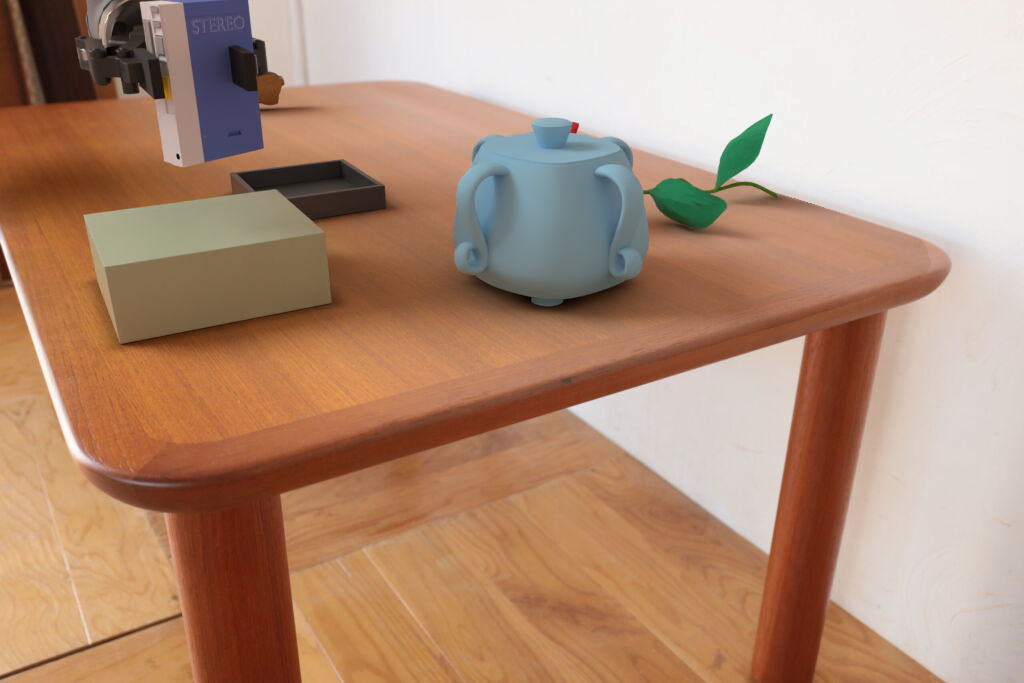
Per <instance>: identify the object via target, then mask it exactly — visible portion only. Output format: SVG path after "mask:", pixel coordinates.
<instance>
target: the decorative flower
mask: <svg viewBox="0 0 1024 683" xmlns="http://www.w3.org/2000/svg"><path fill="white" fill-rule="evenodd" d="M773 116H774V113H769V114H768V115H766V116H765V117H763V118H761V119H759V120H757V121H755V122H754V123H753V124H751V125H750V126H748V127H747V128H746V129H744V130H743V131H742V132H741V133H740V134H738V135H737V136H736V137H734V138H732V139H731V140H729V141H728V143H727V144H726V146H725V147H724V149H723V151H722V153H721V155H720V157H719V162H718V168H717V174H716V180H715V185H714V188H712V189H705V190H704V189H701V188H699V187H697V186H694V185H693V184H692V183H690V181H687V180H686V179H685V178H683V177H677V178H673V177H669V178H665V179H663V180H661V181H660V182H659V183H657V184H656V185H655V186H654V187H652V188H649V189H645V190H643V194H644V195H650V197H651V198H652V200H653V202H654V204H655V207H656V209H658V211H659V212H660V213H661V214H663V215H664V216H665V217H666V218H668V219H670V220H671V221H674V222H675V223H677V224H680V225H683V226H687V227H689V228H693V229H695V230H703V229H706V228H708V227H709V226H711V225H712V224H714V223H715V222H716V221H717V220H718V218H720V216H722V214H723V213H724V212H725V211H726V210H727V209H728V202H726V200H725V199H723V198H722V197H719V196H717V195H714V194H715V193H716V194H717V193H719V192H722V191H725V190H728V189H731V188H732V189H733V188H737V187H741V186H742V187H743V186H744V187H753V188H755V189H758V190H761V191H762V192H764V193H766V194H768V195H769V196H772V197H774V198H778V197H779V196H778V194H777V193H776V192H774V191H772V190H770V189H768V188H767V187H765V186H763V185H760V184H759V183H756V182H753V181H736V182H733V183H730V184H726V183H727V182H728V181H729V180H730V179H732V178H733V177H735V176H737V175H738V174H740V173H742V172H744V170H746V169H748V168H749V167H750V166H751V165H752V164H753V163H755V162H756V160H757V158H758V157H759V155H760V153H761V150H762V147H763V144H764V141H765V138H766V134H767V131H768V129H769V127H770V125H771V123H772V122H771V121H772V119H773ZM571 122H572V128H571V131H570V133H575V134H578V130H579V128H580V123H579V122H576V121H571ZM724 184H726V185H724Z"/></svg>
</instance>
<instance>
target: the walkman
mask: <svg viewBox="0 0 1024 683" xmlns="http://www.w3.org/2000/svg"><path fill="white" fill-rule="evenodd" d="M140 7H141V14H142V20H143V27H144V33H145V40H146V46H147V51H148V52H150V53H151V54H153V55H154V56H156V57H157V58H158V59H159V61H160V68H161V74H162V80H163V86H164V93H165V99H154V104H155V110H156V117H157V122H158V129H159V136H160V143H161V148H162V155H163V162H164V163H168V164H172V166H176V167H180V168H186V167H191V166H195V165H200V164H204V163H207V162H213V161H217V160H222V159H225V158H231V157H234V156H238V155H241V154H247V153H251V152H256V151H259V150H260V151H261V150H264V149H265V146H264V145H265V144H264V136H263V126H262V118H261V108H260V104H259V97H258V91H251V92H247V91H246V90H244V89H242V88H241V87H239V86H237V85H236V84H234V83H233V81H232V73H231V65H230V56H229V48H228V46H236V45H237V46H239V47H242V48H244V49H246V50H248V51H250V52H253V53H254V50H253V41H252V37H253V32H252V31H253V30H252V22H251V14H250V4H249V0H162V1H148V2H140Z"/></svg>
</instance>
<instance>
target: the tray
mask: <svg viewBox="0 0 1024 683" xmlns="http://www.w3.org/2000/svg"><path fill="white" fill-rule="evenodd" d="M229 177H230V185H231V192H232V195H236V194H243V193H251V192H259V191H266V190H274V189H276V190H277V191H278V192H279V193H281V194H282V195H283V196H284V197H285V198H286V199H287V200H289V201H290V202H291V203H292V204H293V205H294V206H295V207H297V208H298V209H299V210H300V211H301V212H302V213H303V214H305V215H306V216H307V217H308V218H309V219H310V220H316V219H324V218H330V217H335V216H341V215H348V214H356V213H362V212H368V211H376V210H381V209H383V210H384V209H387V197H386V185H385V184H383V183H382V182H380V181H378V180H377V179H376V178H374V177H372V176H371V175H369V174H367V173H366V172H365V171H363V170H361V169H360V168H359V167H357V166H355V165H354V164H352V163H350V162H348V161H347V160H345V158H340V159H331V160H323V161H315V162H308V163H306V162H305V163H299V164H298V163H297V164H292V165H283V166H275V167H266V168H265V167H264V168H258V169H250V170H242V171H241V170H240V171H234V172H233V171H232V172H229Z"/></svg>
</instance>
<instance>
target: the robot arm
mask: <svg viewBox="0 0 1024 683" xmlns="http://www.w3.org/2000/svg"><path fill="white" fill-rule="evenodd" d="M85 1H86V7H87V8H86V9H87V10H86V11H87V12H86V16H85V22H86V26H87V34H88V36H86V35H79V36H78V37H74V41H75V47H76V52H77V56H78V61H79V66H80V67H79V68H80V69H81V70H83V71H84V70H85V71H89V72H90V75H91V78H92V80H93V83H94V84H95V85H98V86H101V87H105V86H108V85H110V84H113V81H112V80H113V79H112V78H119V79H120V82H121V87H122V93H123V94H124V95H137V94H140V93H141V90H140V88H141V89H142V90H143V91H144V92H145V93H147V95H148V96H150V97H151V98H152V99H153V100H155V99H165V93H164V86H163V80H162V74H161V68H160V61H159V59H158V58H157V57H156V56H154V55H153V54H151V53H150V52H148V51H147V46H146V40H145V33H144V27H143V20H142V14H141V7H140V2H148V1H162V0H85ZM252 41H253V50H254V53H253V52H250V51H248V50H246V49H244V48H242V47H239V46H237V45H236V46H228V48H229V56H230V65H231V73H232V81H233V83H234V84H236V85H237V86H239V87H241V88H242V89H244V90H246V91H247V92H251V91H258V87H257V78H256V75H258V74H259V75H261V74H265V73H267V72H268V71H269V66H268V56H267V48H266V41H265V40H262V39H259V38H256V37H253V36H252Z"/></svg>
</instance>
